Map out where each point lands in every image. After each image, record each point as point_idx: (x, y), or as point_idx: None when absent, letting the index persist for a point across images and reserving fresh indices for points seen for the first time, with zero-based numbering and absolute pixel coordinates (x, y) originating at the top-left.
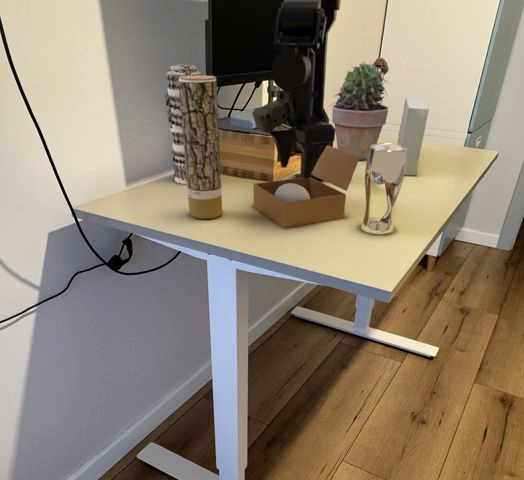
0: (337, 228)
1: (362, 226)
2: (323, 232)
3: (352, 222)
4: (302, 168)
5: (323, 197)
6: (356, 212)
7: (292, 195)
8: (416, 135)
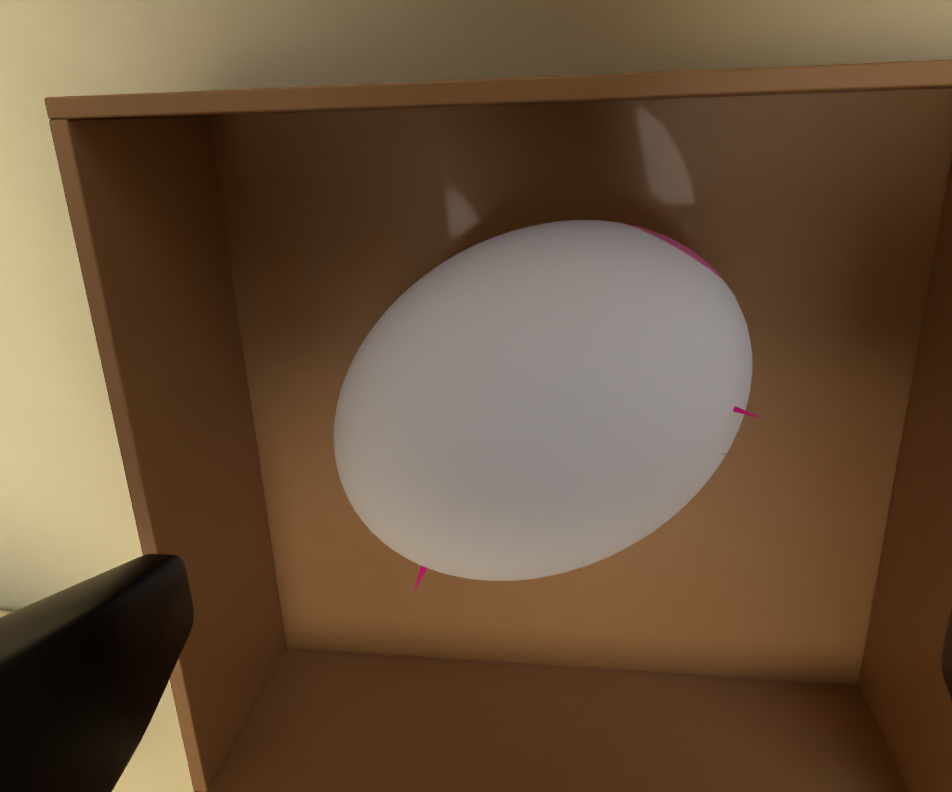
0: (89, 492)
1: None
2: (31, 357)
3: None
4: (72, 620)
5: None
6: None
7: (371, 355)
8: None
